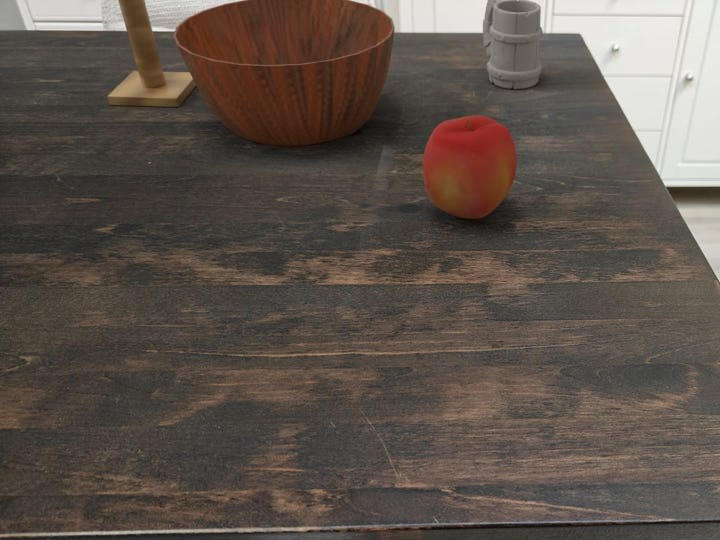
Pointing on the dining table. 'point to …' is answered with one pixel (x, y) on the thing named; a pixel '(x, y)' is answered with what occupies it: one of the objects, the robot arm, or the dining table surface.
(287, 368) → the dining table surface
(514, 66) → the mug
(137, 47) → the post
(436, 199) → the apple
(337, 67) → the bowl
